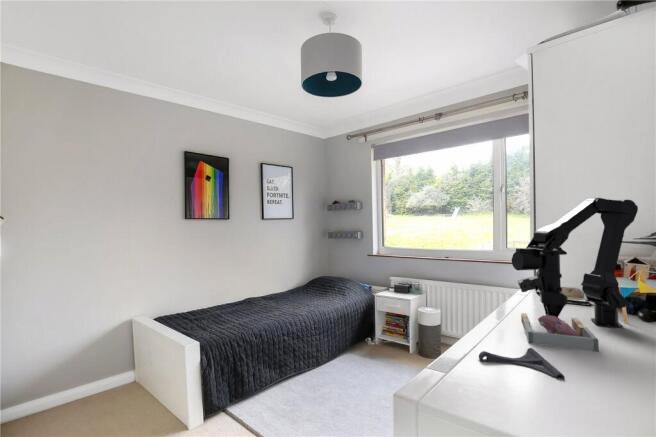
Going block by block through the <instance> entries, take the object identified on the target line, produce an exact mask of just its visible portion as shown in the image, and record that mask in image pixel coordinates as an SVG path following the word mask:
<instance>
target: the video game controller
mask: <svg viewBox="0 0 656 437" xmlns="http://www.w3.org/2000/svg"><path fill="white" fill-rule="evenodd" d="M537 320H538V322H539V325H540V326H541V327H543V328H544V329H545V330H546V331H547V333H552V334H561V335H570V336H579V337H581V336H580V335H579V333H577V332H576V331H575V329H574V328H573V327H572V326H570V325H569V324H568V323H567V322H566V321H565V320H563V319H560V318H559V316H558V317H556V316H551V315H547V314H546V313H545V315H542V316H540V317H538V319H537Z"/></svg>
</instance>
